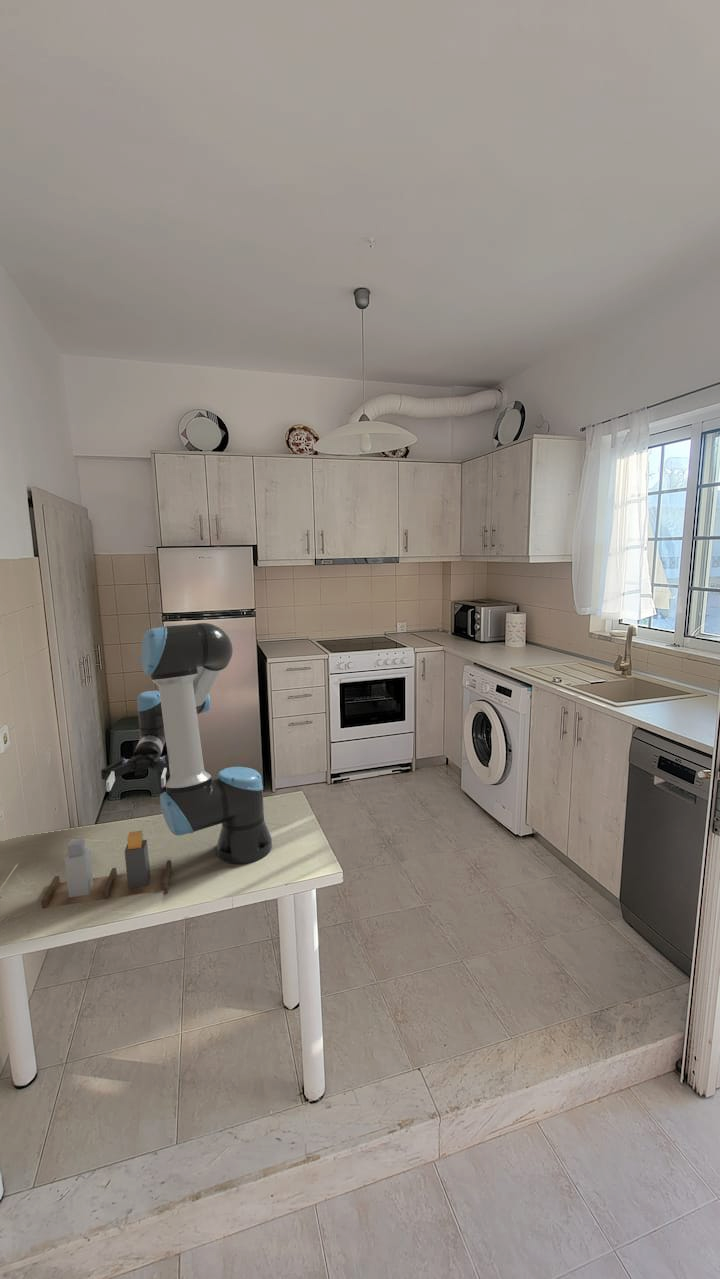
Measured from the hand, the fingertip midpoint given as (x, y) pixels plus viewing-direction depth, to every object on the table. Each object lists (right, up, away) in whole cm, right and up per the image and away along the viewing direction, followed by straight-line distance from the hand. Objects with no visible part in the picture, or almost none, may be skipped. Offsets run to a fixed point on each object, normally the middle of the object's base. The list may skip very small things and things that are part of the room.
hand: (135, 784), depth 146 cm
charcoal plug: (+4, -23, -7) cm, 24 cm away
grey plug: (-9, -24, -10) cm, 27 cm away
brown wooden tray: (-3, -24, -8) cm, 26 cm away
